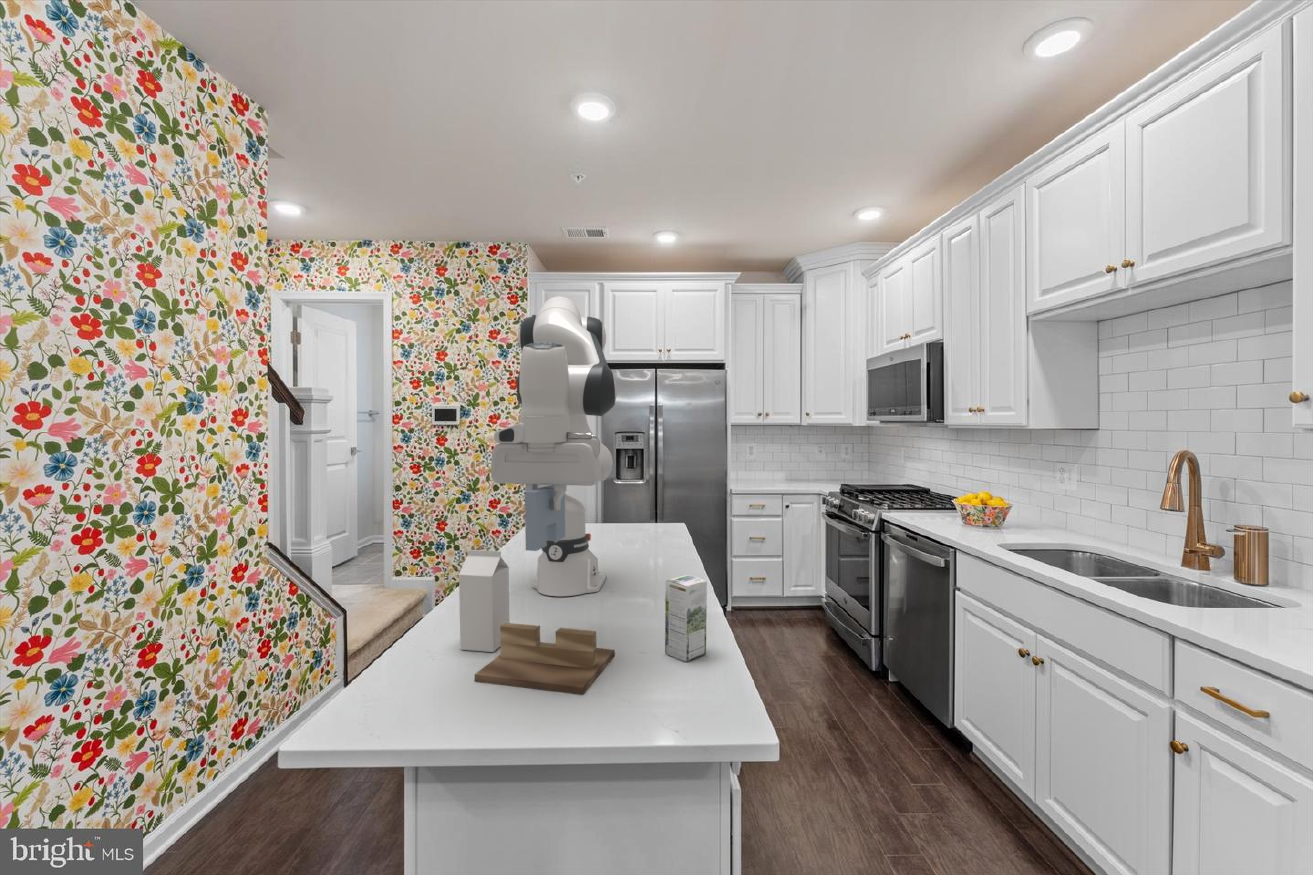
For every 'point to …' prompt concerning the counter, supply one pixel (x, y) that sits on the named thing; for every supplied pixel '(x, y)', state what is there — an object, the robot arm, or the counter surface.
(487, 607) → the milk carton
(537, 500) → the slotted plate
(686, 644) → the syrup box
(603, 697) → the counter surface
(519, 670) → the rail stand
